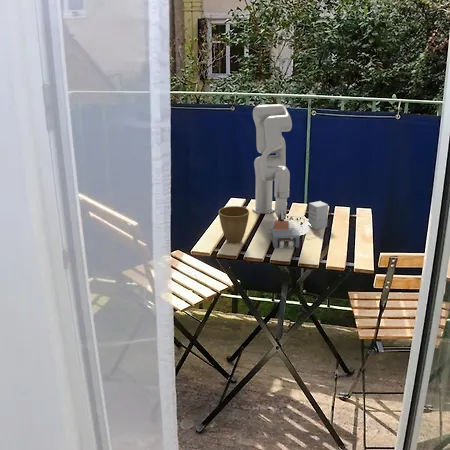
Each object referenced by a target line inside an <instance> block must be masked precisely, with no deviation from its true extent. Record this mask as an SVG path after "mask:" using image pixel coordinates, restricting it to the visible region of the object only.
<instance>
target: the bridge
mask: <svg viewBox="0 0 450 450" xmlns="http://www.w3.org/2000/svg"><path fill="white" fill-rule="evenodd" d="M270 235H271V236H270ZM269 236H270V240H271V242H272V247H273V248H274V249H277V248H278V241H277V238H291V240H289V241H288V248H290V247H292V248H293V247H294V246H295V247H294V248H300V232H299V230H298V229H294V228H291V229H289V230H274V229H269ZM292 238H293V239H292ZM280 247H281V248H282V247H283V248H284V247H285V241H283V240H281V241H279V248H280Z"/></svg>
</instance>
